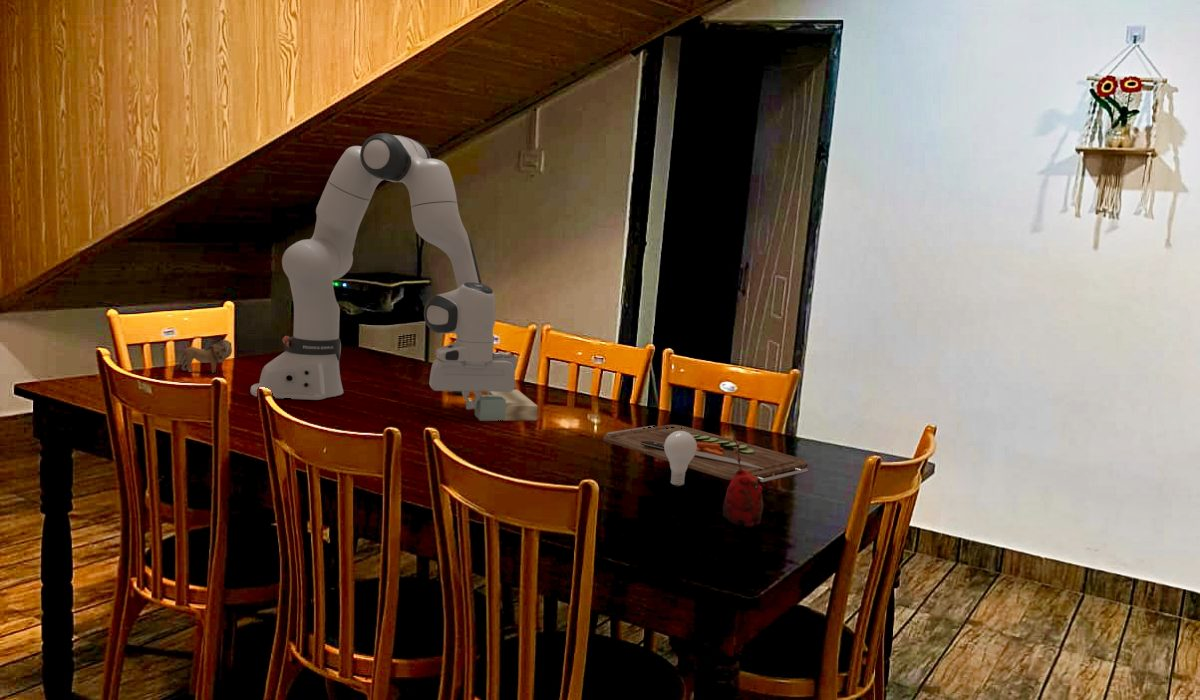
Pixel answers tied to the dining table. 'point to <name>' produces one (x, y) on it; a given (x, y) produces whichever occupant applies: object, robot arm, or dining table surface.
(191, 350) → the lion figurine
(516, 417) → the board
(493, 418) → the block
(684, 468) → the lightbulb
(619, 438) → the chopping board
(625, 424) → the dining table surface
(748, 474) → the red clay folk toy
